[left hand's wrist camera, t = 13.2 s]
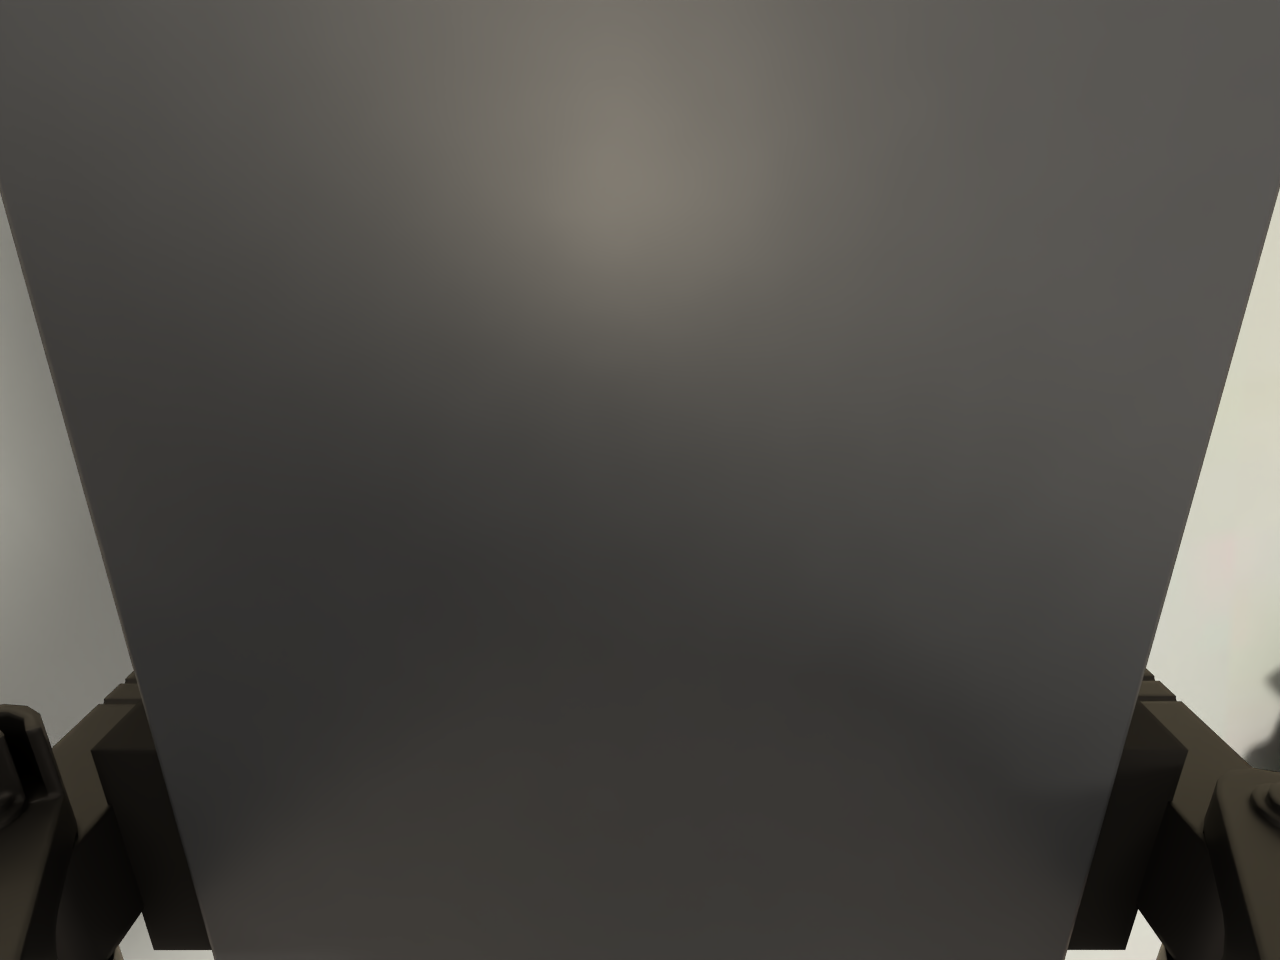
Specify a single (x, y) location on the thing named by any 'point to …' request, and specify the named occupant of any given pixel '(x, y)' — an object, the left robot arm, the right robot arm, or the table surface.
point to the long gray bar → (639, 445)
